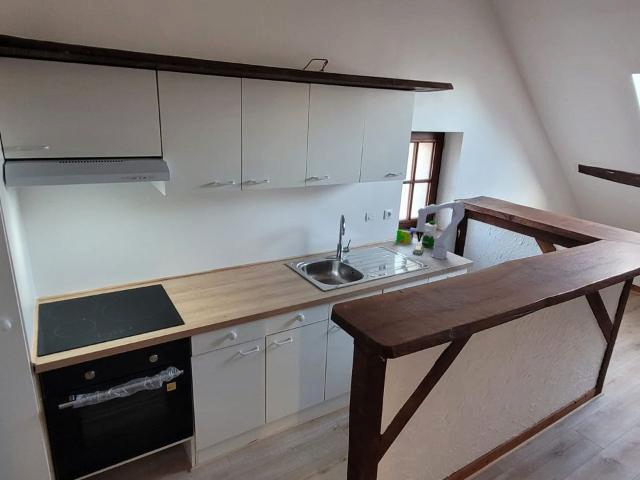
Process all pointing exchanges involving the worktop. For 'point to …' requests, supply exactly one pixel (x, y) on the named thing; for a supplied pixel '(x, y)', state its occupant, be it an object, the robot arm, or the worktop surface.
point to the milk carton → (429, 235)
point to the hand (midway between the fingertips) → (418, 241)
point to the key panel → (418, 251)
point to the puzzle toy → (404, 236)
